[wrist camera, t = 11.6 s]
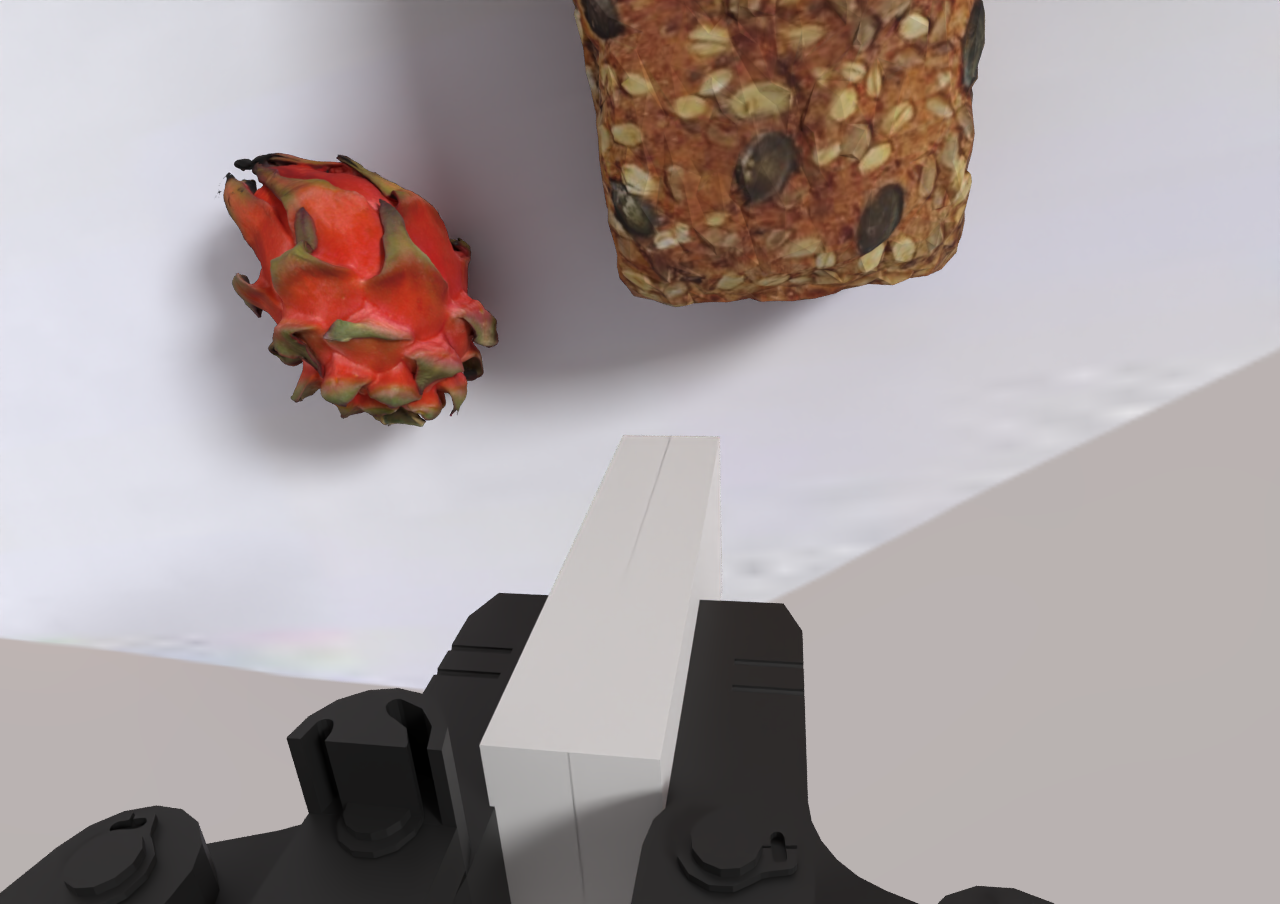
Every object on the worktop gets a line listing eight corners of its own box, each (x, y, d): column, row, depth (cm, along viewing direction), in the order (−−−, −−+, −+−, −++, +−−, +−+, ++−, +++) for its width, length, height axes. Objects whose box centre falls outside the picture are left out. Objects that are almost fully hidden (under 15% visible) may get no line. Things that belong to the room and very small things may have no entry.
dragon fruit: (506, 395, 37) (342, 175, 36) (582, 318, 30) (380, 42, 29) (346, 501, 32) (154, 253, 31) (390, 441, 25) (143, 117, 24)
